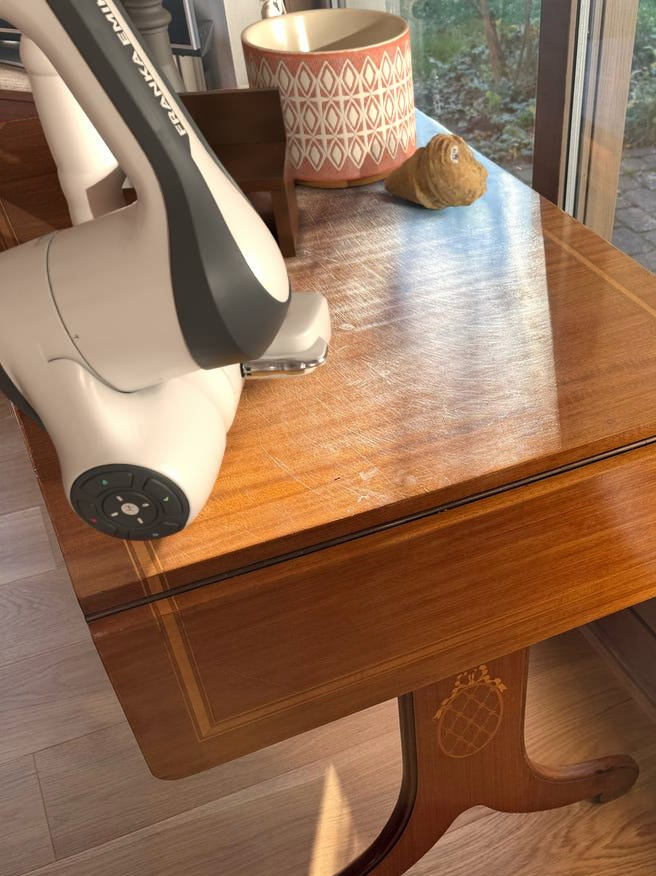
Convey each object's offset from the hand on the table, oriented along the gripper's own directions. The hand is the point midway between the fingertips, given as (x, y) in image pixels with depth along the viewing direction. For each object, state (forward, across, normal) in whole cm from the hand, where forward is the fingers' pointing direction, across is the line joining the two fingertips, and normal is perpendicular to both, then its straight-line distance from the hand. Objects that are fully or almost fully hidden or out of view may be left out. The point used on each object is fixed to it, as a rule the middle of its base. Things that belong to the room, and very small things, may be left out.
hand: (212, 287), depth 80 cm
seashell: (+37, -18, +8) cm, 42 cm away
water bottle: (+33, +19, +8) cm, 39 cm away
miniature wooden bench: (+30, +6, +8) cm, 32 cm away
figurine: (+66, +5, +9) cm, 67 cm away
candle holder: (+40, +12, +8) cm, 43 cm away
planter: (+51, -6, +8) cm, 52 cm away
